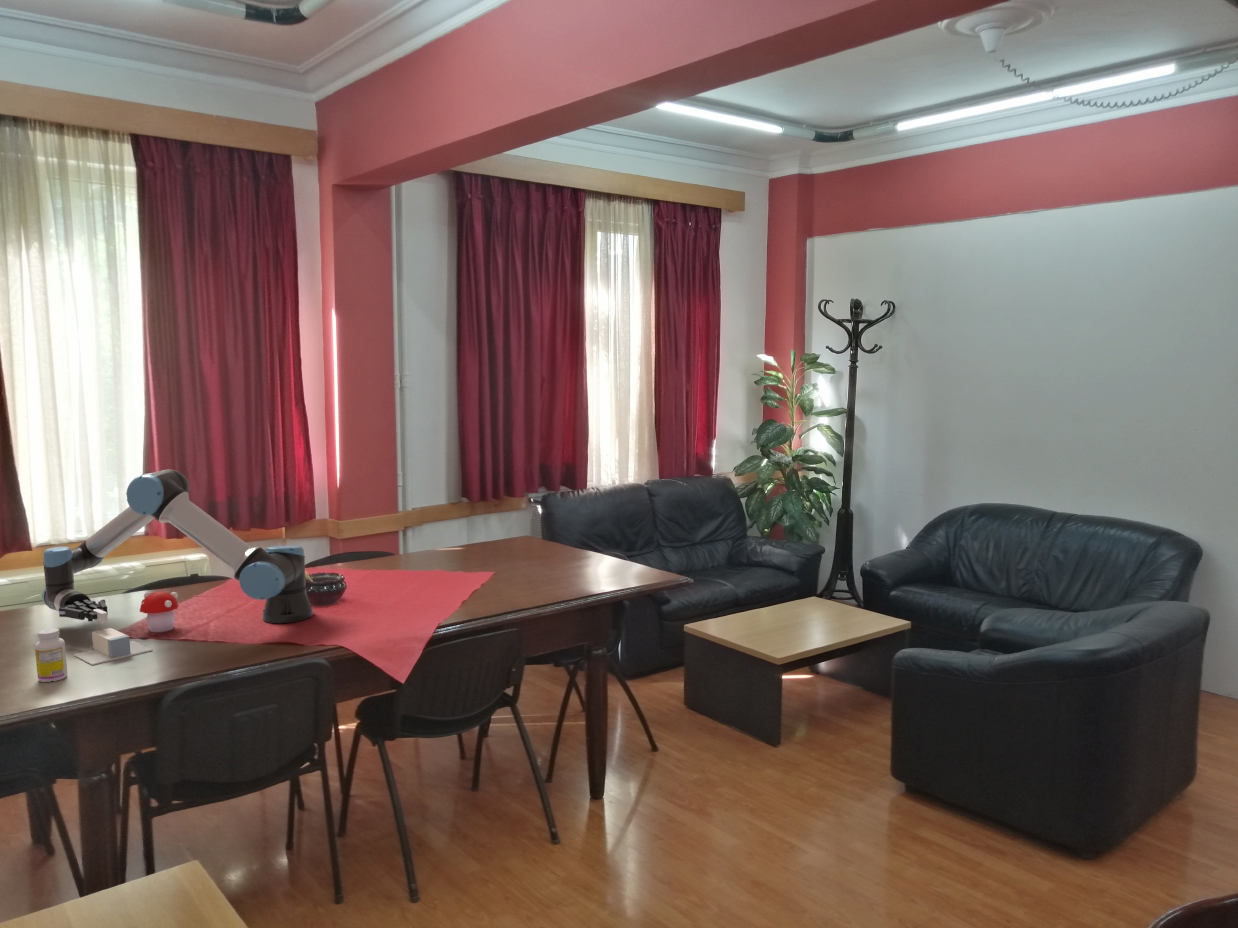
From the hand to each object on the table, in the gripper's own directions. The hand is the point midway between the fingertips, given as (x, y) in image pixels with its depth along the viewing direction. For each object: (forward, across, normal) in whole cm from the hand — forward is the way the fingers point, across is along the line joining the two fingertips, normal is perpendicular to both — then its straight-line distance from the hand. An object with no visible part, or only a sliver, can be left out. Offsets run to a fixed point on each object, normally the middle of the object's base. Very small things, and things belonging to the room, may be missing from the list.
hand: (104, 617), depth 264 cm
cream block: (-3, 0, -7) cm, 7 cm away
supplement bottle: (+14, +19, -10) cm, 25 cm away
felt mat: (+4, 0, -10) cm, 10 cm away
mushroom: (-9, -19, -10) cm, 23 cm away
